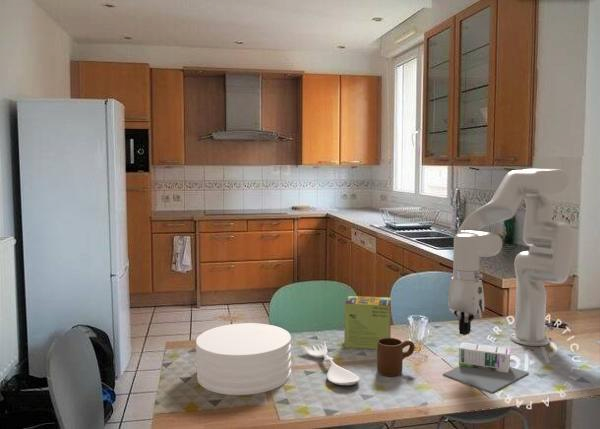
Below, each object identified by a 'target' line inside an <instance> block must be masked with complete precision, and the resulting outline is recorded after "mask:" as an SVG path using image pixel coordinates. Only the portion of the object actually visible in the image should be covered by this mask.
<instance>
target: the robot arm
mask: <svg viewBox="0 0 600 429" xmlns="http://www.w3.org/2000/svg"><path fill="white" fill-rule="evenodd" d="M569 186H570V176H569V174H568V173H567V172H566V171H565V170H564V169H561V168H525V169H515V170H511V171H509V172H507V173H506V174H505V176H504V177H503V179H502V181H501V183H500V184H499V186H498V188H497V189H496V190H495V192H494V194H493V196H492V198H491V199H490V201H489V202H488V203H486V204H484V205H481V206H480V207H479V208H477V209H476V210H474V211H472V213H469V215H468V216H466V217H465V219H464V220H463V221H462V223H461V225H460V226H459V227H458V229H457V231H456V234H455V236H454V238H453V262H452V263H453V265H452V267H453V268H452V276H451V278H450V282H449V288H448V300H447V303H448V304H447V305H448V311H449V312H450V313H451V314H454V315H455V317H456V318H457V321H458V330H459V332H458V333H459V335H463V336H466V335H469V334H471V333H470V332H471V326H472V325H471V324H472V322H473V320H476V319H477V320H478V319H481V318H482V317H483V315H482V312H484V311H485V292H484V285H483V282H482V281H483V280H481V279H483V276H484V275H483V274H482V273H481V271H480V262H481V261H480V260H481V259H480V258H481V257H483V258H486V257H487V258H488V257H494V256H497V255H498V254H499V253H500V252H501V251H502V249H503V240H502V238H501V236H500V235H498V234H497V233H495V232H493V231H492V232H490V231H483V230H481V229H482V228H485V227H486V226H490V225H493V224H497V223H500V222H503V221H507V220H510V219H512V218H513V217H514V216H515V214H516V213H517V212H518V209H519V208H520V205H521V204H522V202H523V201H524V203H525V215H524V224H523V232H522V241H523V243H524V245H526V246H529V247H532V248H537V249H544V250H551V251H552V253H548V252H542V251H537V250H536V251H535V250H525V251H524V250H523V251H521V252H519V253H517V255H516V256H515V258H514V262H513V263H514V271H515V278H516V296H515V297H516V298H515V299H516V301H515V327H514V328H515V329H514V332H512V333H510V336H509V338H510V340H512V341H513V342H514V343H517V344H520V345H523V346H528V347H542V346H547V345H549V344H550V338H549V337H548V336H547V335H545V334H546V333H545V332H546V331H548V330H549V326H548V325H546V317H547V315H546V314H547V290H546V288H545V284H544V283H543V282H547V283H552V284H563V283H565V282H566V281H567V279H568V278H569V275H570V270H571V263H572V256H573V248H574V237H575V235H574V231H573V228H572V227H571V226H570V225H569V224H568V223H566V222H561V221H553V215H554V214H553V212H554V206H553V203H552V201H551V198H550V197H554V196H555V197H556V196H562V195H563V194H565V192H567V190H568V189H569Z"/></svg>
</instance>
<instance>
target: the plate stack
mask: <svg viewBox="0 0 600 429" xmlns="http://www.w3.org/2000/svg"><path fill="white" fill-rule="evenodd" d="M291 337H292V335H291V334H290V332H289V331H287V330H286V329H284V328H282V327H280V326H276V325H272V324H266V323H257V322H255V323H254V322H246V323H241V322H240V323H232V324H226V325H225V324H224V325H220V326H217V327H212V328H210V329H208V330H206V331H204V332H202V333H200V334H199V335H198V336H197V337H196V339H195V347H196V350H195V351H196V379H197V382H198V384H199V385H200V386H201V387H202V388H204V389H206V390H208V391H211V392H213V393H217V394H222V395H229V396H230V395H231V396H246V395H256V394H261V393H265V392H269V391H272V390H275V389H277V388H280V387H282V386H283V385H285V384H286V383H287V382H288V381H289V380H290V379H291V377H292V361H291V359H292V344H291V342H292V338H291Z"/></svg>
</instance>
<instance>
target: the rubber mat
mask: <svg viewBox="0 0 600 429" xmlns="http://www.w3.org/2000/svg"><path fill="white" fill-rule="evenodd" d="M528 375H529V371H528V372H527V371H525V370H521V369H519V368H516V367H512V366H510V369H509V372H508V373H506V372H499V371H492V370H486V369H479V368H472V367H466V366H459V365H458V366H457V367H455V368H453V369H451V370H450V369H449V371H446V372H444V373H442V376H444V377H447V378H450V379H452V380H455V381H458V382H461V383H463V384H466V385H469V386H471V387H474V388H477V389H479V390H483V391H485V392H487V393H490V394H494V393H496V392H497V391H500V390H501V389H504V388H505V387H507V386H508V385H511V384H513V383H515V382H516V381H518V380H520V379H522V378H524V377H525V376H528Z"/></svg>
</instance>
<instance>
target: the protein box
mask: <svg viewBox="0 0 600 429" xmlns="http://www.w3.org/2000/svg"><path fill="white" fill-rule="evenodd" d="M391 298H392V297H386V296H385V297H383V296H381V297H380V296H358V295H356V296H355V295H348V296H347V298H346V301H345V302H344V343H343V344H344V348H353V349H368V350H377V343H378V340H379V339H382V338H391V335H392V334H391V330H392V329H391V325H392V324H391V322H392V320H391V318H392V317H391V316H392V315H391V313H392V312H391V310H392V307H391V305H392V304H391V303H392V302H391V300H392V299H391Z"/></svg>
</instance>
